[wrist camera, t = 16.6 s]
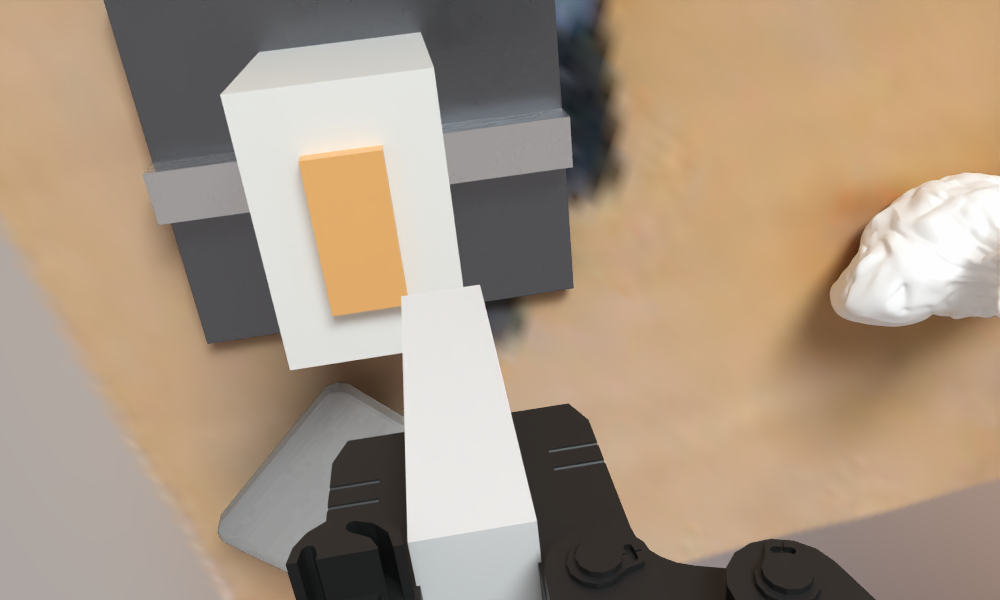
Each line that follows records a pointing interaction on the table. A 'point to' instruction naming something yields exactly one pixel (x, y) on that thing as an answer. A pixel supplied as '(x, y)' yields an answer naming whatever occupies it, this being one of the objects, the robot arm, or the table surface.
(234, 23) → the mounting plate
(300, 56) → the block
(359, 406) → the light switch
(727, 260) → the table surface
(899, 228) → the bust
